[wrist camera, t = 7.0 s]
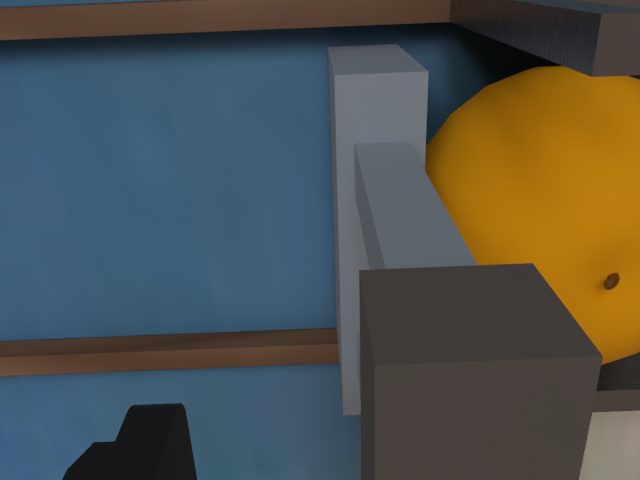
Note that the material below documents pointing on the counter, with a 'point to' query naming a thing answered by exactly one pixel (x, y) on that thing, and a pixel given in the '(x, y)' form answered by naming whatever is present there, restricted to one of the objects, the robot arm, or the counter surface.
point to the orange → (553, 190)
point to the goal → (585, 57)
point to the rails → (185, 17)
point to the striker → (439, 307)
